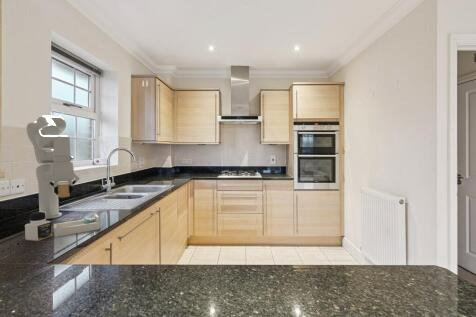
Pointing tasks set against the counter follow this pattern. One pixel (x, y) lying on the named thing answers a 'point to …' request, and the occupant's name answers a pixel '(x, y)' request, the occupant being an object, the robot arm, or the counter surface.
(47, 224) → the medicine bottle
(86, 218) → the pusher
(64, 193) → the jar
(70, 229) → the lane
